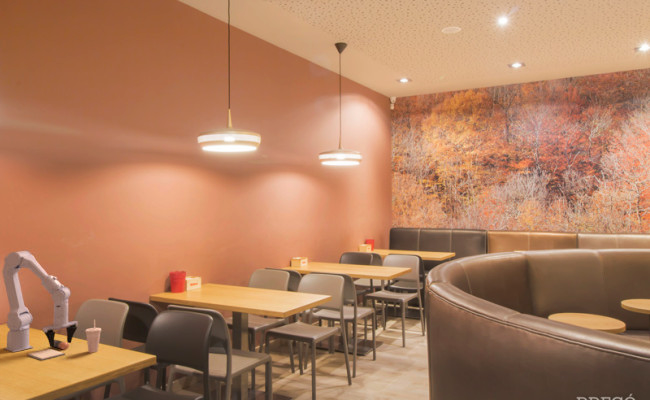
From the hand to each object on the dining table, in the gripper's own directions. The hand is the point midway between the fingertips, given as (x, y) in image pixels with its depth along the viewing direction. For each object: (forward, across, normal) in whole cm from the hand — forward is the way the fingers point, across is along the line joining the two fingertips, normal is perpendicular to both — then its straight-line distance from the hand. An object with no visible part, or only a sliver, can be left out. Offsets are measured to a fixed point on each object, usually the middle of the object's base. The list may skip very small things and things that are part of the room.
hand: (60, 344), depth 206 cm
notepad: (+1, -9, -6) cm, 11 cm away
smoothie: (+2, +5, -18) cm, 19 cm away
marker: (+1, 0, 0) cm, 1 cm away
